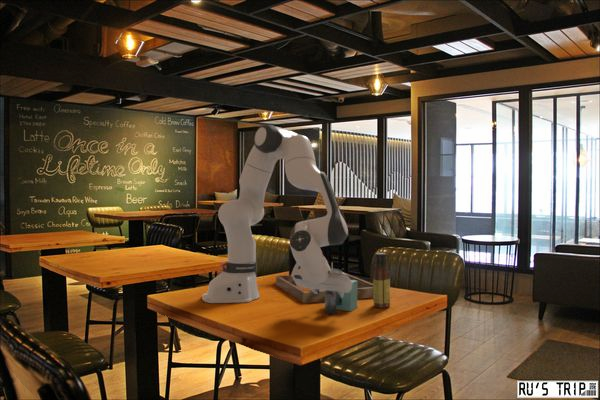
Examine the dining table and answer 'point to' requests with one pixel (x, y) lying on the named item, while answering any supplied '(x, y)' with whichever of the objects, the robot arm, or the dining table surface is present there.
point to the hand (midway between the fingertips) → (329, 293)
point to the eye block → (349, 299)
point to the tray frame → (309, 297)
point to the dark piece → (331, 302)
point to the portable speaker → (291, 261)
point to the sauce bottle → (381, 282)
